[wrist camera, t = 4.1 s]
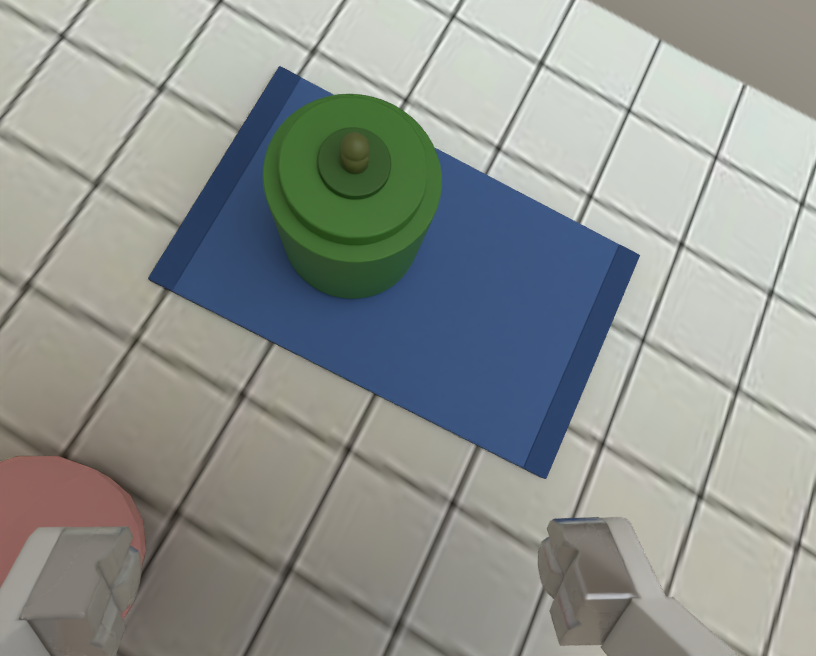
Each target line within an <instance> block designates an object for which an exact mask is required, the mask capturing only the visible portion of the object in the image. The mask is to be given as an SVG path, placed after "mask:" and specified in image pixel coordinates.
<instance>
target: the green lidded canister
mask: <svg viewBox="0 0 816 656" xmlns="http://www.w3.org/2000/svg"><path fill="white" fill-rule="evenodd" d="M263 186H264V192H265V196H266V200H267V203H268V205H269V208H270V211H271V214H272V216H273V219H274V222H275V224H276V227H277V230H278V232H279V235H280V238H281V241H282V243H283V246H284V249H285V251H286V254H287V256H288V259H289V261H290V263H291V264H292V266H293V268H294V269H295V270H296V272H297V273H298V274H299V275H300V276H301V277H302V278H303V279H304V281H306V282H307V283H308V284H310V285H311V286H312V287H314V288H316V289H317V290H319V291H321V292H323V293H326V294H328V295H331V296H335V297H339V298H346V299H358V298H366V297H370V296H374V295H376V294H379V293H382V292H383V291H385V290H387V289H389V288H390V287H392V286H393V285H395V284H396V283H397V282H398V281H399V280H400V279H401V278H402V277H403V276H404V275H405V274H406V272H407V271H408V270H409V268H410V266H411V265H412V263H413V261H414V259H415V256H416V254H417V252H418V250H419V248H420V246H421V243H422V241H423V239H424V237H425V235H426V233H427V230H428V228H429V226H430V224H431V222H432V220H433V217H434V215H435V213H436V210H437V208H438V205H439V201H440V197H441V190H442V173H441V166H440V162H439V159H438V155H437V152H436V150H435V148H434V146H433V144H432V142H431V140H430V138H429V137H428V135H427V134H426V132H425V131H424V130H423V129H422V127H421V126H420V125H419V124H418V123H417V122H416V121H415V120H414V119H413V118H412V117H411V116H409V115H408V114H407V113H406V112H404V111H403V110H401V109H400V108H398V107H396V106H395V105H393V104H391V103H388V102H386V101H384V100H381V99H378V98H375V97H371V96H366V95H360V94H338V95H332V96H327V97H324V98H320V99H317V100H315V101H312V102H310V103H308V104H306V105H304V106H303V107H301V108H299V109H298V110H296V111H295V112H294V113H293V114H291V115H290V116H289V117H288V118H287V119H286V120H285V121H284V122H283V123H282V124H281V125H280V127H279V128H278V130H277V131H276V132H275V134H274V135H273V137H272V139H271V141H270V143H269V146H268V149H267V151H266V154H265V159H264V164H263Z"/></svg>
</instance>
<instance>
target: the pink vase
mask: <svg viewBox="0 0 816 656" xmlns="http://www.w3.org/2000/svg"><path fill="white" fill-rule="evenodd" d="M121 526H129V528H130V530H131V532H132V535H133V539H132V542H131V544H130V545H131V546H132V547H134V548H136V549H137V550H139V553H140V556H141V564H143V560H144V556H145V552H146V544H145V534H144V523H143V519H142V517H141V515H140V513H139V511H138V509H137V507H136V505H135V504H134V502H133V500H132V498H131V496H130V495H129V494H128V493H127V492H126V491H125V490H124V489H122V488H121V487H120V486H119V485H118V484H117V483H116V482H114V481H113V480H112V479H111V478H110V477H108V476H106V475H104V474H102V473H101V472H99V471H97V470H95V469H92V468H90V467H87V466H84V465H81V464H79V463H76V462H73V461H70V460H67V459H65V458H62V457H59V456H16V457H13V458H10V459H7V460H4V461H1V462H0V588H1V586H2V584H3V582H4V580H5V578H6V577H7V575H8V573H9V571H10V569H11V568H12V566H13V564H14V562H15V560H16V559H17V557H18V555H19V553H20V551H21V550H22V548H23V546H24V544H25V542H26V540H27V539H28V537H29V536H30V535H31V534H32V533H33V532H34V531H35V530H36V529H37V528H38V527H121ZM131 606H132V604H131V605H130V606H129V607H128V608H127V609H126V610H125V611H124V612H123V613H122V614H121V615H122V618H123V619H124V617H125V615H126V614H127V612H128V611H129V609H130V608H131Z"/></svg>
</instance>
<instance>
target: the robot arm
mask: <svg viewBox="0 0 816 656" xmlns="http://www.w3.org/2000/svg"><path fill="white" fill-rule="evenodd" d="M547 531H548V534H549V537H548V538H546V539H545V540H543V541H542V542H541V545H540V548H539V551H538V568H539V575H540V579H541V583H542V586H543V589H544V590H545V591H546V592H547V593H548V594H549V595H550V596H551V597H552V598H553V599H554V600H553V603H552V605H551V608H550V614H551V618H552V621H553V624H554V628H555V631H556V635H557V638H558V641H559V645H560V646H565V645H602V646H601V648H602V649H603V651H604V652H605V653H606V654H607V656H739V655H738V654H737V653H735V652H734V651H733V650H732V649H731V648H730V647H729V646H728V645H726V644H725V643H724V642H723V641H722V640H721V639H720V638H719V637H717V636H716V635H715V634H714V633H713V632H712V631H711V630H710V629H708V628H707V627H706V626H705V625H704V624H703V623H702V622H701V621H699V620H698V619H697V618H696V617H695V616H694V615H693V614H692V613H690V612H689V611H688V610H687V609H686V608H685V607H684V606H683V605H681V604H680V603H679V602H678V601H677V600H676V599H675V598H674V597H666V596H665V594H664V592H663V590H662V588H661V585H660V583H659V581H658V579H657V577H656V575H655V573H654V571H653V569H652V567H651V565H650V562H649V560H648V558H647V556H646V554H645V552H644V550H643V548H642V546H641V544H640V542H639V539H638V537H637V535H636V533H635V531H634V529H633V527H632V525H631V523H630V522H629V521H628V520H627V519H626V518H623V517H610V518H599V517H591V518H563V519H553V520H551V521H550V523H549V525H548V527H547ZM132 539H133V535H132V532H131V530H130V528H129V526H121V527H38V528H37V529H36V530H35V531H34V532H33V533H32V534H31V535H30V536H29V537H28V539H27V540H26V542H25V544H24V546H23V548H22V550H21V551H20V553H19V555H18V557H17V559H16V560H15V562H14V564H13V566H12V568H11V569H10V571H9V573H8V575H7V577H6V578H5V580H4V582H3V584H2V586H1V588H0V656H116V654H117V651H118V648H119V645H120V642H121V639H122V636H123V633H124V630H125V628H126V626H125V623H124V620H123V618H122V615H121V614H122V613H123V612H124V611H125V610H126V609H127V608H128V607H129V606H130V605H131V604H132V603H133V602H134V601H135V598H136V594H137V591H138V588H139V584H140V578H141V571H142V564H141V556H140V553H139V550H137V549H136V548H134V547H132V546H131V545H130V544H131V542H132Z"/></svg>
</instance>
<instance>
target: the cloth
mask: <svg viewBox="0 0 816 656" xmlns="http://www.w3.org/2000/svg"><path fill="white" fill-rule="evenodd" d="M332 95H333V94H331V93H330V92H328V91H326V90H324V89H322V88H320V87H318V86H316V85H314V84H312V83H311V82H309V81H307V80H305V79H303V78H301V77H300V76H298V75H296V74H294V73H292V72H290V71H288V70H287V69H285V68H283V67H281V66H279V67H278V69H277V71H276V72H275V74H274V76H273V77H272V79H271V80H270V82H269V84H268V85H267V87H266V88H265V90H264V92H263V93H262V95H261V97H260V98H259V100H258V101H257V103H256V105H255V106H254V108H253V109H252V111H251V113H250V114H249V116H248V118H247V119H246V121H245V122H244V124H243V126H242V127H241V129H240V130H239V132H238V134H237V135H236V137H235V139H234V140H233V142H232V143H231V145H230V147H229V148H228V150H227V151H226V153H225V155H224V156H223V158H222V160H221V161H220V163H219V164H218V166H217V168H216V169H215V171H214V172H213V174H212V176H211V177H210V179H209V181H208V182H207V184H206V185H205V187H204V189H203V190H202V192H201V193H200V195H199V197H198V198H197V200H196V201H195V203H194V205H193V206H192V208H191V210H190V211H189V213H188V214H187V216H186V218H185V219H184V221H183V222H182V224H181V226H180V227H179V229H178V231H177V232H176V234H175V235H174V237H173V239H172V240H171V242H170V243H169V245H168V247H167V248H166V250H165V252H164V253H163V255H162V256H161V258H160V260H159V261H158V263H157V264H156V266H155V268H154V269H153V271H152V273H151V274H150V276H149V277H148V279H149V280H150V281H152V282H154V283H156V284H158V285H160V286H162V287H164V288H166V289H168V290H170V291H172V292H174V293H176V294H178V295H180V296H182V297H184V298H186V299H188V300H190V301H192V302H194V303H196V304H198V305H200V306H202V307H204V308H206V309H208V310H210V311H212V312H214V313H216V314H218V315H220V316H222V317H224V318H226V319H228V320H230V321H232V322H234V323H236V324H238V325H240V326H241V327H243V328H245V329H247V330H249V331H251V332H253V333H255V334H257V335H259V336H261V337H263V338H265V339H267V340H269V341H271V342H273V343H275V344H277V345H279V346H281V347H283V348H285V349H287V350H289V351H291V352H293V353H295V354H297V355H299V356H301V357H303V358H305V359H307V360H309V361H311V362H313V363H315V364H317V365H319V366H321V367H323V368H325V369H327V370H329V371H331V372H333V373H335V374H337V375H339V376H341V377H343V378H345V379H347V380H349V381H351V382H353V383H355V384H357V385H359V386H361V387H363V388H365V389H367V390H369V391H371V392H372V393H374V394H376V395H378V396H380V397H382V398H384V399H386V400H388V401H390V402H392V403H394V404H396V405H398V406H400V407H402V408H404V409H406V410H408V411H410V412H412V413H414V414H416V415H418V416H420V417H422V418H424V419H426V420H428V421H430V422H432V423H434V424H436V425H438V426H440V427H442V428H444V429H446V430H448V431H450V432H452V433H454V434H456V435H458V436H460V437H462V438H464V439H466V440H468V441H470V442H472V443H474V444H476V445H478V446H480V447H482V448H484V449H486V450H488V451H490V452H492V453H494V454H496V455H498V456H500V457H502V458H504V459H505V460H507V461H509V462H511V463H513V464H515V465H517V466H519V467H521V468H523V469H525V470H527V471H529V472H531V473H533V474H535V475H537V476H539V477H541V478H544V479H546V478H547V476H548V474H549V471H550V469H551V466H552V464H553V462H554V459H555V457H556V454H557V452H558V450H559V447H560V445H561V443H562V440H563V438H564V435H565V433H566V431H567V428H568V426H569V423H570V421H571V419H572V416H573V414H574V412H575V409H576V407H577V404H578V402H579V400H580V397H581V395H582V393H583V390H584V388H585V385H586V383H587V381H588V378H589V376H590V373H591V371H592V369H593V366H594V364H595V362H596V359H597V357H598V354H599V352H600V350H601V347H602V345H603V342H604V340H605V338H606V335H607V333H608V331H609V328H610V326H611V323H612V321H613V319H614V316H615V314H616V311H617V309H618V307H619V304H620V302H621V300H622V297H623V295H624V292H625V290H626V288H627V285H628V283H629V281H630V278H631V276H632V273H633V271H634V269H635V266H636V264H637V261H638V259H639V257H640V255H639V254H637V253H635V252H633V251H631V250H629V249H628V248H626V247H624V246H622V245H619V244H617V243H615V242H613V241H612V240H610V239H608V238H606V237H604V236H602V235H600V234H598V233H596V232H594V231H592V230H591V229H589V228H587V227H585V226H583V225H581V224H579V223H577V222H575V221H573V220H572V219H570V218H568V217H566V216H564V215H562V214H560V213H558V212H556V211H554V210H552V209H551V208H549V207H547V206H545V205H543V204H541V203H539V202H537V201H535V200H533V199H532V198H530V197H528V196H526V195H524V194H522V193H520V192H518V191H516V190H514V189H512V188H511V187H509V186H507V185H505V184H503V183H501V182H499V181H497V180H495V179H493V178H492V177H490V176H488V175H486V174H484V173H482V172H480V171H478V170H476V169H474V168H472V167H471V166H469V165H467V164H465V163H463V162H461V161H459V160H457V159H455V158H453V157H451V156H450V155H448V154H446V153H444V152H442V151H440V150H438V149H436V148H435V150H436V152H437V155H438V159H439V162H440V166H441V173H442V190H441V197H440V201H439V205H438V208H437V210H436V213H435V215H434V217H433V220H432V222H431V224H430V226H429V228H428V230H427V233H426V235H425V237H424V239H423V241H422V243H421V246H420V248H419V250H418V252H417V254H416V256H415V259H414V261H413V263H412V265H411V266H410V268H409V270H408V271H407V272H406V274H405V275H404V276H403V277H402V278H401V279H400V280H399V281H398V282H397V283H396V284H395V285H393V286H392V287H390V288H389V289H387V290H385V291H383V292H382V293H379V294H376V295H374V296H370V297H366V298H358V299H346V298H339V297H335V296H331V295H328V294H326V293H323V292H321V291H319V290H317V289H316V288H314V287H312V286H311V285H310V284H308V283H307V282H306V281H304V279H303V278H302V277H301V276H300V275H299V274H298V273H297V272H296V270H295V269H294V268H293V266H292V264H291V263H290V261H289V259H288V256H287V254H286V251H285V249H284V246H283V243H282V241H281V238H280V235H279V232H278V230H277V227H276V224H275V222H274V219H273V216H272V214H271V211H270V208H269V205H268V203H267V200H266V196H265V192H264V186H263V164H264V159H265V154H266V151H267V149H268V146H269V143H270V141H271V139H272V137H273V135H274V134H275V132H276V131H277V130H278V128H279V127H280V125H281V124H282V123H283V122H284V121H285V120H286V119H287V118H288V117H289V116H290V115H291V114H293V113H294V112H295V111H296V110H298V109H299V108H301V107H303V106H304V105H306V104H308V103H310V102H312V101H315V100H317V99H320V98H324V97H327V96H332Z"/></svg>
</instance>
